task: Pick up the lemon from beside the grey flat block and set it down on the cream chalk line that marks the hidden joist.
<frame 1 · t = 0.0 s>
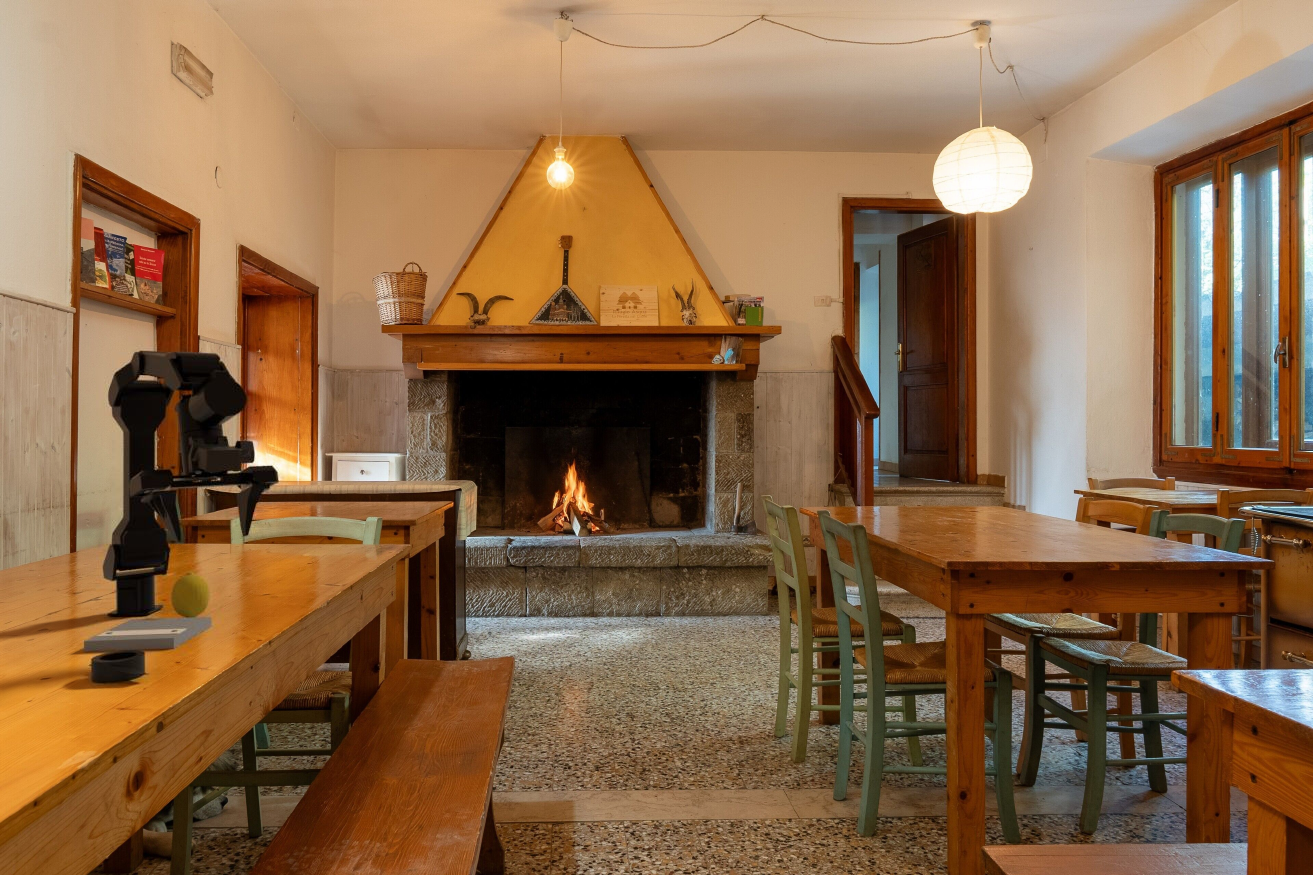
hand: (213, 539, 126), 15 cm above the table, tool pointing down, fingers open, 9 cm apart
grey flat block: (151, 638, 131), on the table
lemon: (191, 621, 143), on the table
black piece: (118, 680, 111), on the table
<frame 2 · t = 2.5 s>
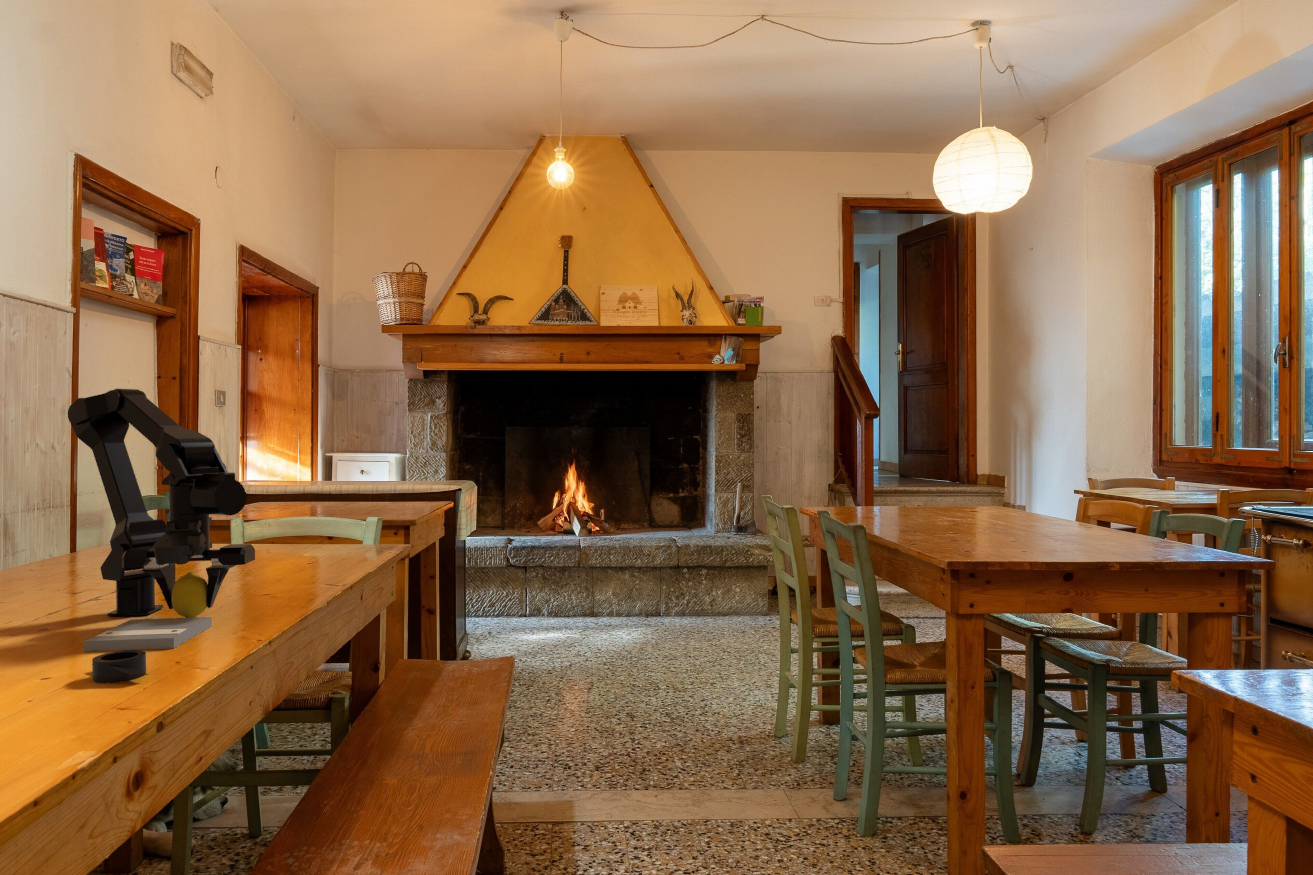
hand: (190, 608, 143), 2 cm above the table, tool pointing down, fingers closed on lemon, 5 cm apart
lemon: (191, 621, 143), on the table, touching gripper
everything else where it was.
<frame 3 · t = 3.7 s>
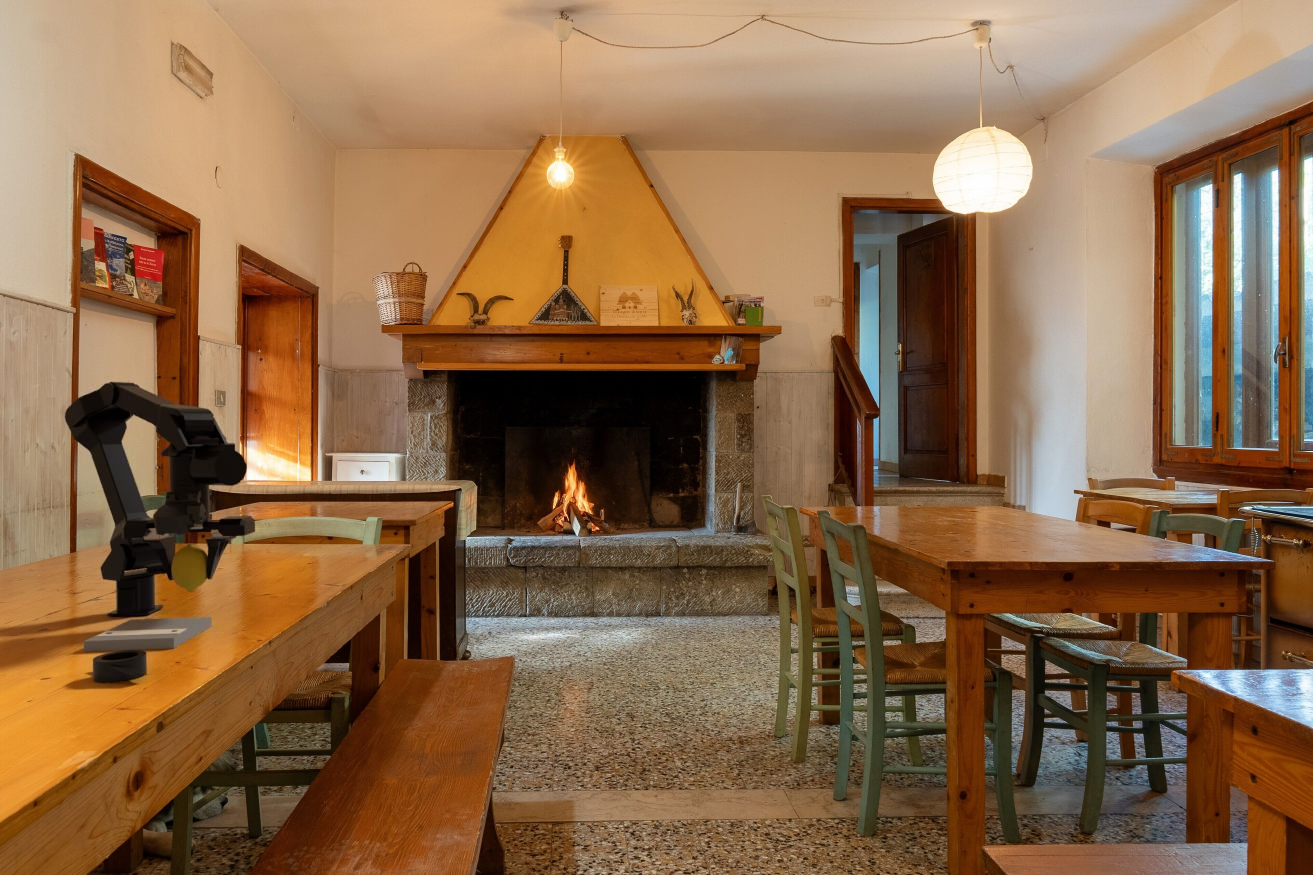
hand: (190, 579, 143), 7 cm above the table, tool pointing down, fingers closed on lemon, 5 cm apart
lemon: (190, 593, 143), point 4 cm above the table, touching gripper
everything else where it was.
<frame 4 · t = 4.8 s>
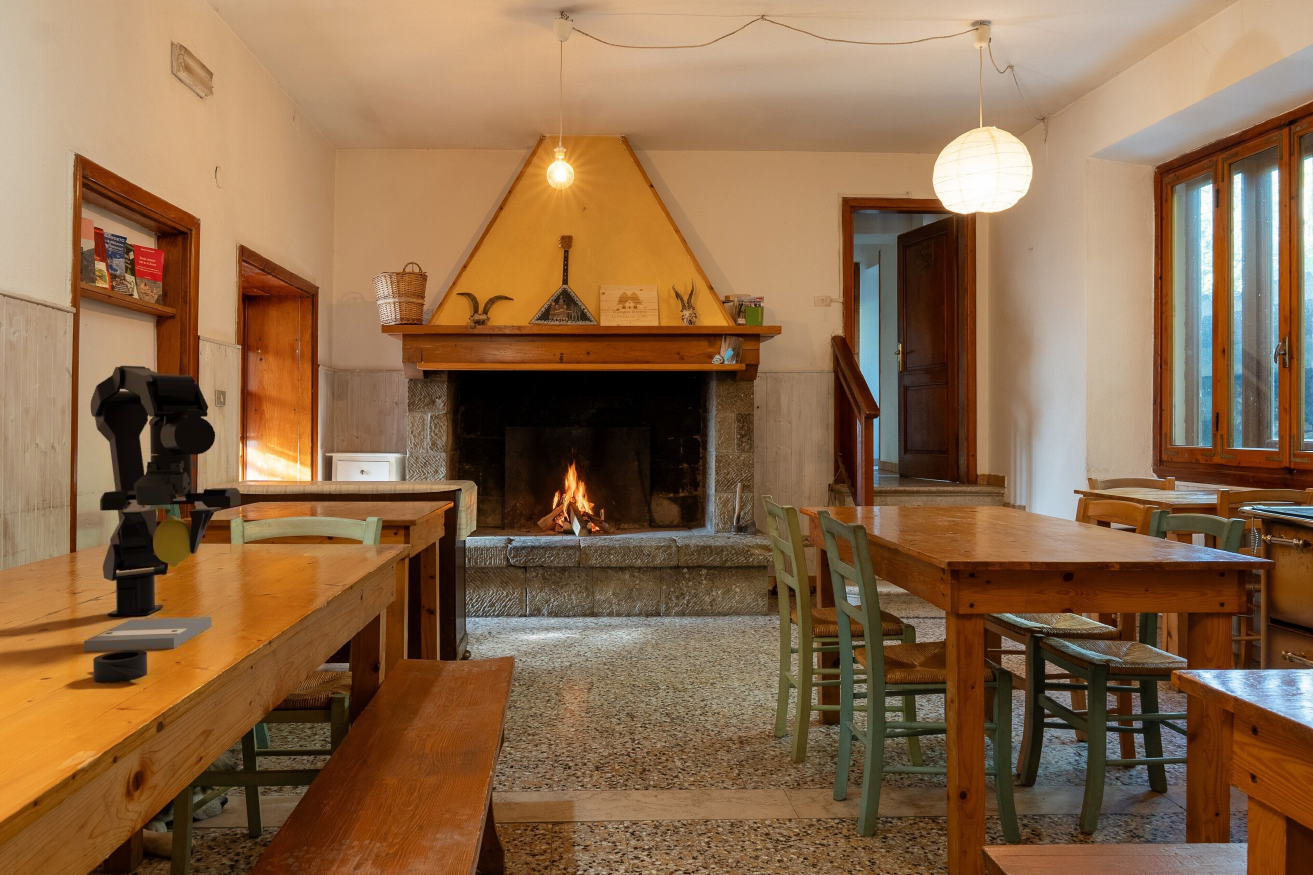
hand: (173, 554, 136), 12 cm above the table, tool pointing down, fingers closed on lemon, 5 cm apart
lemon: (173, 568, 136), point 10 cm above the table, touching gripper
everything else where it was.
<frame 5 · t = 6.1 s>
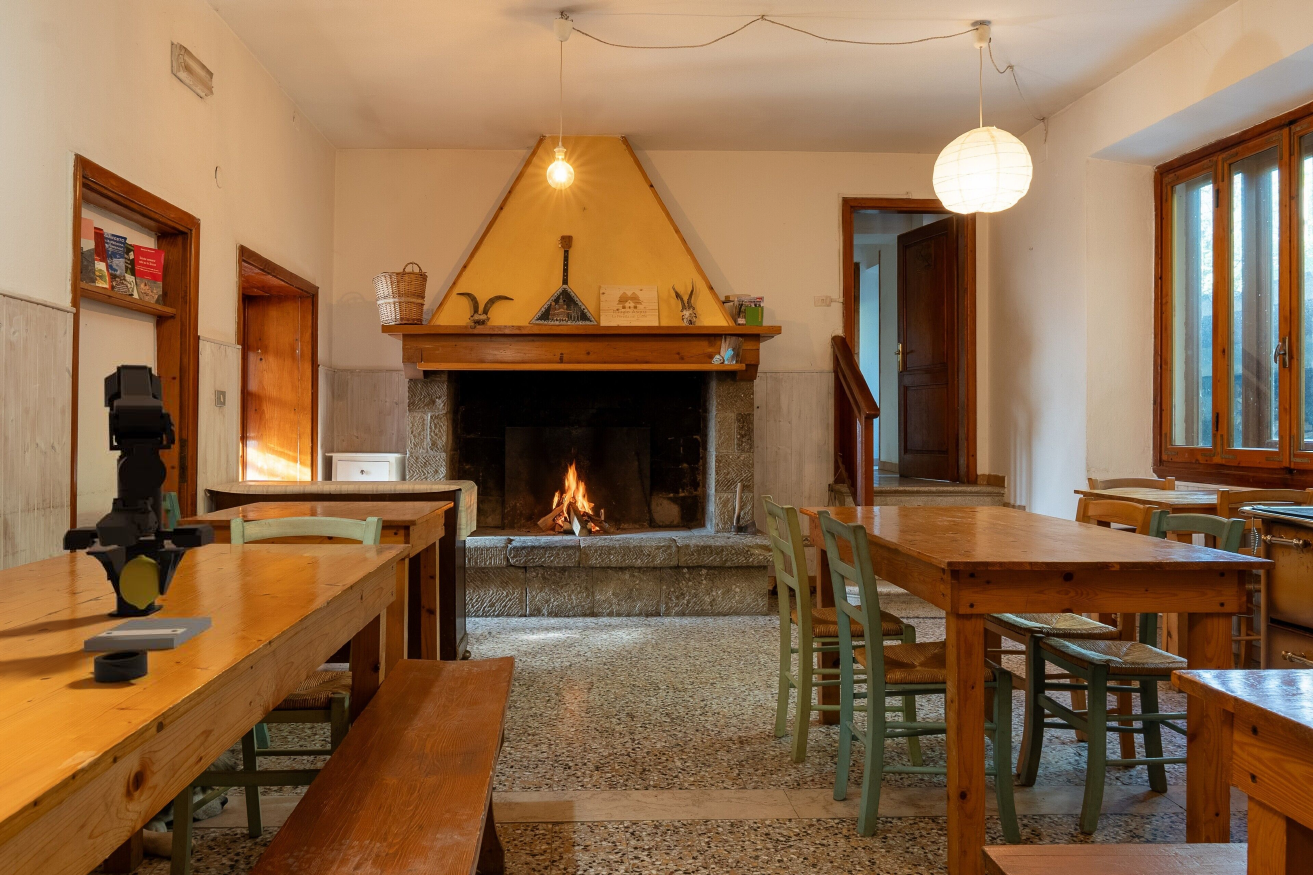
hand: (141, 595, 128), 7 cm above the table, tool pointing down, fingers closed on lemon, 5 cm apart
lemon: (142, 610, 128), point 5 cm above the table, touching gripper
everything else where it was.
when the fingers open (4 cm above the table, at t = 7.0 s): lemon stays where it is, resting on grey flat block.
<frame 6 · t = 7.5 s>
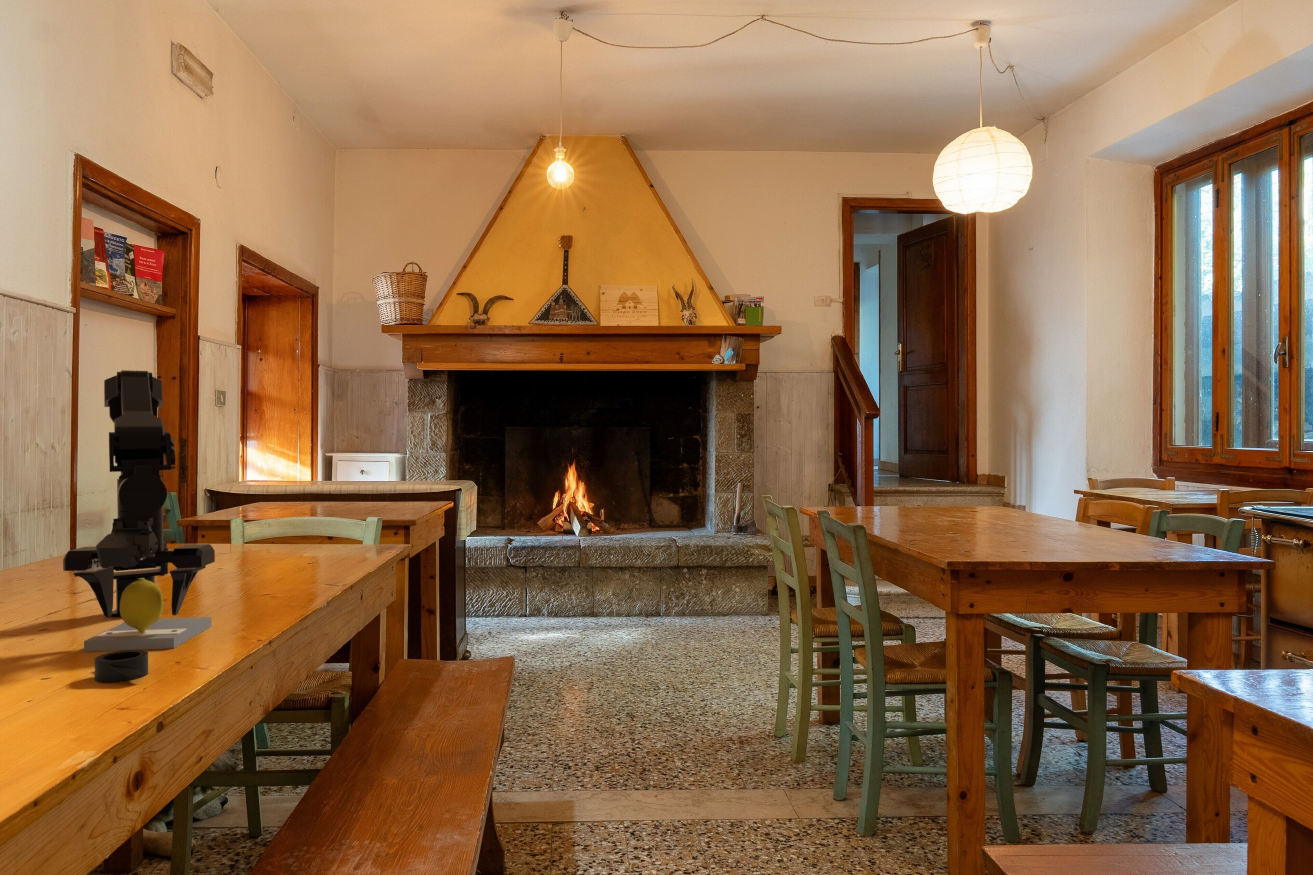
hand: (141, 615, 128), 4 cm above the table, tool pointing down, fingers open, 9 cm apart
lemon: (142, 633, 128), point 1 cm above the table, touching grey flat block
everything else where it was.
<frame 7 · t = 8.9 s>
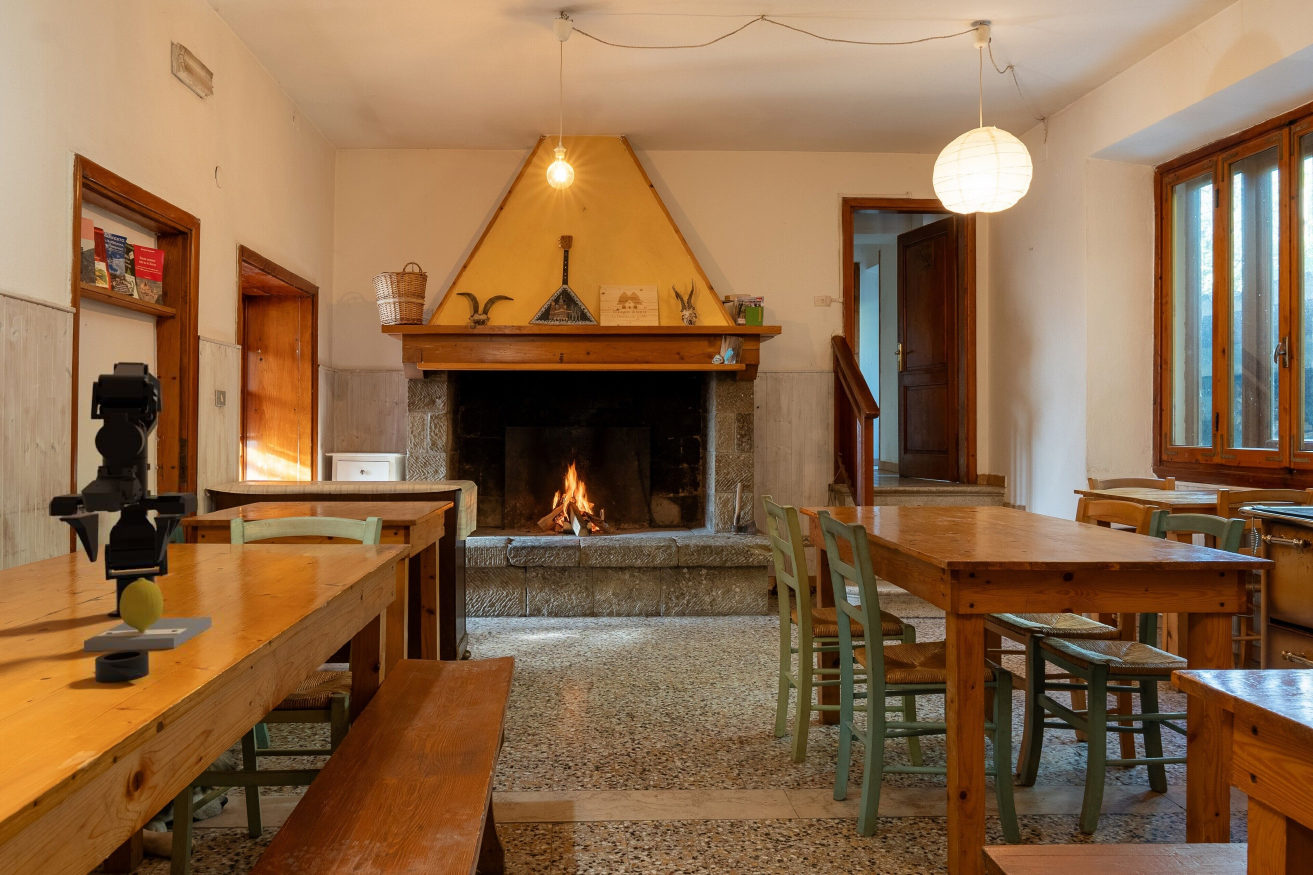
hand: (126, 561, 131), 12 cm above the table, tool pointing down, fingers open, 9 cm apart
nothing on the table moved.
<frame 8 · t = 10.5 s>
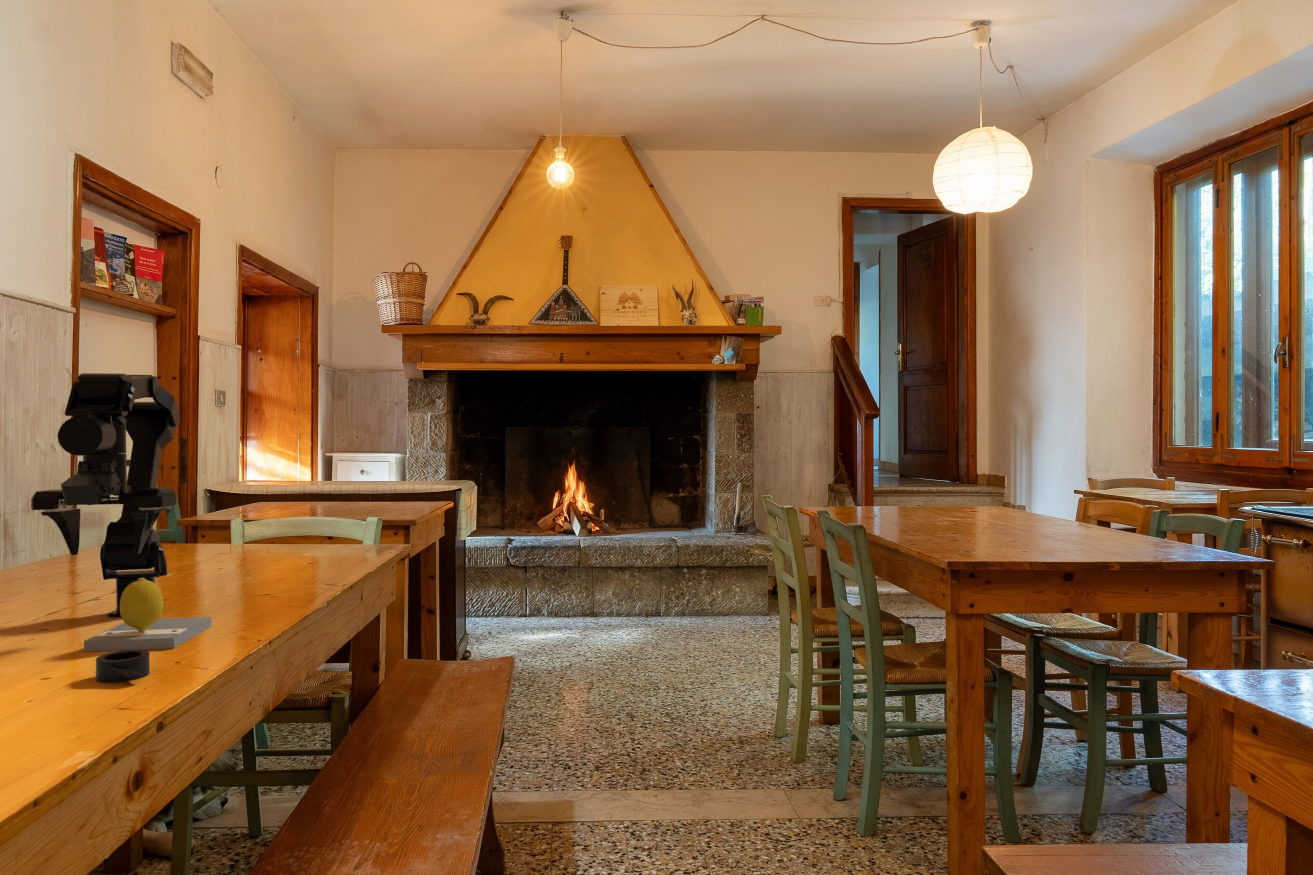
hand: (106, 554, 135), 12 cm above the table, tool pointing down, fingers open, 9 cm apart
nothing on the table moved.
at the end: lemon inside the target area (0.1 cm from its centre), point 1.4 cm above the table; lemon touching grey flat block; the gripper is holding nothing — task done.
